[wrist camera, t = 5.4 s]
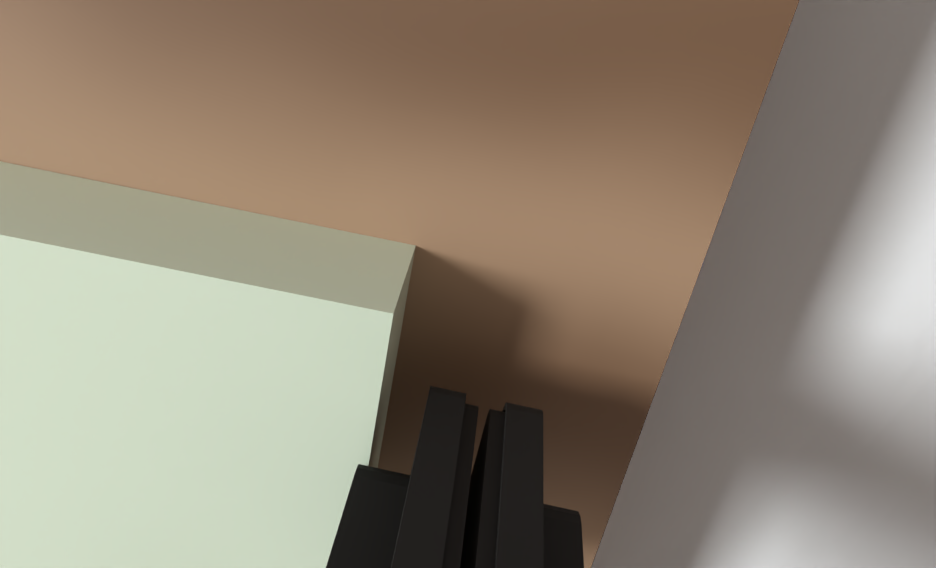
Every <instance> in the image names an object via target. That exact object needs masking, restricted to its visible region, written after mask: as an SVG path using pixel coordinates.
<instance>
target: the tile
mask: <svg viewBox="0 0 936 568" xmlns="http://www.w3.org/2000/svg"><path fill="white" fill-rule="evenodd" d="M415 247H416V245H411V244H406V243H401V242H396V241H391V240H386V239H381V238H376V237H371V236H366V235H361V234H356V233H351V232H347V231H342V230H337V229H332V228H327V227H322V226H317V225H312V224H307V223H302V222H297V221H292V220H287V219H282V218H277V217H273V216H268V215H263V214H258V213H253V212H248V211H243V210H238V209H233V208H228V207H223V206H218V205H213V204H208V203H203V202H198V201H194V200H189V199H184V198H179V197H174V196H169V195H164V194H159V193H154V192H149V191H144V190H139V189H134V188H129V187H124V186H120V185H115V184H110V183H105V182H100V181H95V180H90V179H85V178H80V177H75V176H70V175H65V174H60V173H55V172H50V171H46V170H41V169H36V168H31V167H26V166H21V165H16V164H11V163H6V162H1V161H0V568H326V566H327V562H328V559H329V556H330V553H331V549H332V546H333V543H334V540H335V536H336V533H337V530H338V526H339V523H340V520H341V517H342V513H343V510H344V507H345V504H346V500H347V497H348V494H349V491H350V487H351V484H352V481H353V478H354V474H355V471H356V468H357V466H358V464H361V465H366V466H370V467H375V468H378V463H379V457H380V451H381V445H382V439H383V433H384V428H385V422H386V416H387V410H388V404H389V398H390V393H391V387H392V381H393V375H394V369H395V363H396V358H397V352H398V346H399V340H400V334H401V328H402V323H403V317H404V311H405V305H406V299H407V293H408V288H409V282H410V276H411V270H412V264H413V258H414V253H415Z"/></svg>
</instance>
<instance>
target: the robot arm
mask: <svg viewBox="0 0 936 568" xmlns="http://www.w3.org/2000/svg"><path fill="white" fill-rule="evenodd" d="M465 402H466V393H462V392H457V391H453V390H448V389H443V388H439V387H434V386H430V389H429V394H428V398H427V402H426V407H425V411H424V416H423V420H422V425H421V429H420V434H419V438H418V443H417V447H416V452H415V456H414V461H413V465H412V470H411V474H410V475H407V474H403V473H398V472H393V471H389V470H384V469H379V468H375V467H370V466H366V465H361V464H358V466H357V468H356V471H355V474H354V478H353V481H352V484H351V487H350V491H349V494H348V497H347V500H346V504H345V507H344V510H343V513H342V517H341V520H340V523H339V526H338V530H337V533H336V536H335V540H334V543H333V546H332V549H331V553H330V556H329V559H328V562H327V566H326V568H584V557H583V540H582V524H581V517H580V514H579V512H578V511H575V510H570V509H565V508H561V507H556V506H552V505H547V504H543V411H542V410H540V409H535V408H531V407H526V406H521V405H517V404H512V403H508V402H506V403H505V405H504V407H503V411H497V410H493V409H489V412H488V415H487V418H486V422H485V426H484V429H483V433H482V437H481V440H480V444H479V448H478V452H477V455H476V459H475V463H474V466H473V470H472V461H473V453H474V444H475V436H476V427H477V419H478V410H479V407H478V406H474V405H470V404H465ZM471 470H472V474H471Z"/></svg>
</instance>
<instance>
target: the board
mask: <svg viewBox="0 0 936 568" xmlns="http://www.w3.org/2000/svg"><path fill="white" fill-rule="evenodd" d="M798 3H799V0H0V161H1V162H6V163H11V164H16V165H21V166H26V167H31V168H36V169H41V170H46V171H50V172H55V173H60V174H65V175H70V176H75V177H80V178H85V179H90V180H95V181H100V182H105V183H110V184H115V185H120V186H124V187H129V188H134V189H139V190H144V191H149V192H154V193H159V194H164V195H169V196H174V197H179V198H184V199H189V200H194V201H198V202H203V203H208V204H213V205H218V206H223V207H228V208H233V209H238V210H243V211H248V212H253V213H258V214H263V215H268V216H273V217H277V218H282V219H287V220H292V221H297V222H302V223H307V224H312V225H317V226H322V227H327V228H332V229H337V230H342V231H347V232H351V233H356V234H361V235H366V236H371V237H376V238H381V239H386V240H391V241H396V242H401V243H406V244H411V245H416V247H415V253H414V258H413V264H412V270H411V276H410V282H409V288H408V293H407V299H406V305H405V311H404V317H403V323H402V328H401V334H400V340H399V346H398V352H397V358H396V363H395V369H394V375H393V381H392V387H391V393H390V398H389V404H388V410H387V416H386V422H385V428H384V433H383V439H382V445H381V451H380V457H379V463H378V468H379V469H384V470H389V471H393V472H398V473H403V474H407V475H410V474H411V470H412V465H413V461H414V456H415V452H416V447H417V443H418V438H419V434H420V429H421V425H422V420H423V416H424V411H425V407H426V402H427V398H428V394H429V389H430V386H434V387H439V388H443V389H448V390H453V391H457V392H462V393H466V402H465V404H470V405H474V406H478V407H479V410H478V419H477V427H476V436H475V444H474V453H473V461H472V470H473V466H474V463H475V459H476V455H477V452H478V448H479V444H480V440H481V437H482V433H483V429H484V426H485V422H486V418H487V415H488V412H489V409H493V410H497V411H503V407H504V405H505V403H506V402H508V403H512V404H517V405H521V406H526V407H531V408H535V409H540V410H542V411H543V504H547V505H552V506H556V507H561V508H565V509H570V510H575V511H578V512H579V514H580V517H581V524H582V540H583V557H584V568H591V566H592V563H593V561H594V558H595V555H596V552H597V550H598V547H599V544H600V542H601V539H602V536H603V533H604V531H605V528H606V525H607V523H608V520H609V517H610V514H611V512H612V509H613V506H614V503H615V501H616V498H617V495H618V493H619V490H620V487H621V484H622V482H623V479H624V476H625V474H626V471H627V468H628V465H629V463H630V460H631V457H632V454H633V452H634V449H635V446H636V444H637V441H638V438H639V435H640V433H641V430H642V427H643V425H644V422H645V419H646V416H647V414H648V411H649V408H650V405H651V403H652V400H653V397H654V395H655V392H656V389H657V386H658V384H659V381H660V378H661V376H662V373H663V370H664V367H665V365H666V362H667V359H668V357H669V354H670V351H671V348H672V346H673V343H674V340H675V337H676V335H677V332H678V329H679V327H680V324H681V321H682V318H683V316H684V313H685V310H686V308H687V305H688V302H689V299H690V297H691V294H692V291H693V288H694V286H695V283H696V280H697V278H698V275H699V272H700V269H701V267H702V264H703V261H704V259H705V256H706V253H707V250H708V248H709V245H710V242H711V239H712V237H713V234H714V231H715V229H716V226H717V223H718V220H719V218H720V215H721V212H722V210H723V207H724V204H725V201H726V199H727V196H728V193H729V190H730V188H731V185H732V182H733V180H734V177H735V174H736V171H737V169H738V166H739V163H740V161H741V158H742V155H743V152H744V150H745V147H746V144H747V141H748V139H749V136H750V133H751V131H752V128H753V125H754V122H755V120H756V117H757V114H758V112H759V109H760V106H761V103H762V101H763V98H764V95H765V92H766V90H767V87H768V84H769V82H770V79H771V76H772V73H773V71H774V68H775V65H776V63H777V60H778V57H779V54H780V52H781V49H782V46H783V43H784V41H785V38H786V35H787V33H788V30H789V27H790V24H791V22H792V19H793V16H794V14H795V11H796V8H797V5H798ZM472 470H471V474H472Z"/></svg>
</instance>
